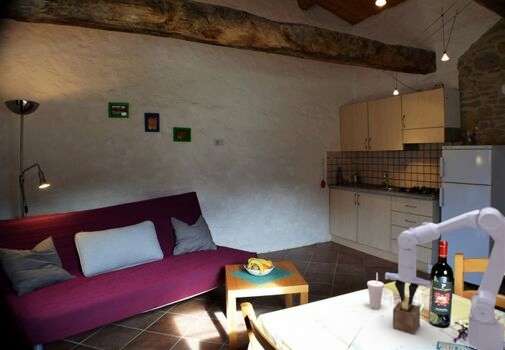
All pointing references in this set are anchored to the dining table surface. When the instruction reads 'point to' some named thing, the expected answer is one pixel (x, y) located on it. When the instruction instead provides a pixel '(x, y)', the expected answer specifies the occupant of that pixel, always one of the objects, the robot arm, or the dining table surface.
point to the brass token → (406, 305)
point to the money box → (406, 319)
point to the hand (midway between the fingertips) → (406, 302)
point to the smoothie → (375, 292)
